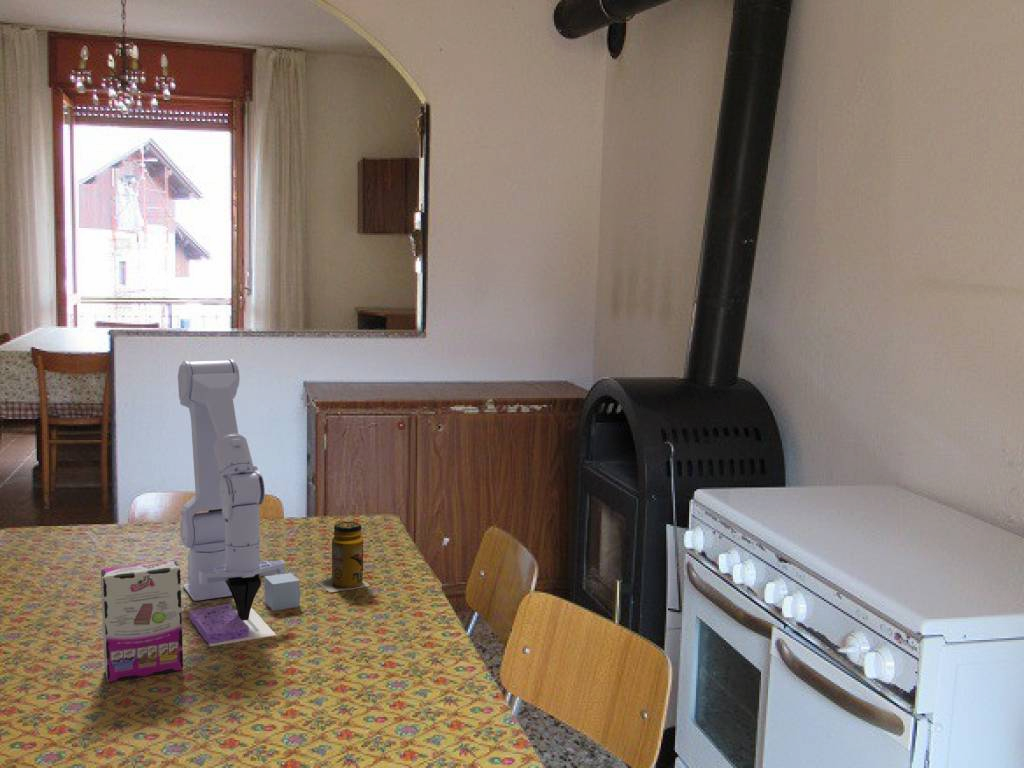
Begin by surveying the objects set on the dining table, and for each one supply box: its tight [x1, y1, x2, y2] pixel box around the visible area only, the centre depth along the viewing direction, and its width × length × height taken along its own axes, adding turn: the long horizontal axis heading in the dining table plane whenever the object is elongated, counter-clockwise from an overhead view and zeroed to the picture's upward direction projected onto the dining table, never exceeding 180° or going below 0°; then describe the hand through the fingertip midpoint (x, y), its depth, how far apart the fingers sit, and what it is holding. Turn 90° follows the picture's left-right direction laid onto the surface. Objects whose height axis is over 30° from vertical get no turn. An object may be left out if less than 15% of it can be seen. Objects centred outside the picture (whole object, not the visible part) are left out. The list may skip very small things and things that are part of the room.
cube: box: [263, 572, 301, 612], centre depth 190 cm, size 5×5×5 cm
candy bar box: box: [100, 559, 184, 683], centre depth 158 cm, size 11×5×16 cm, turn 117°
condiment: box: [315, 521, 371, 594], centre depth 201 cm, size 7×8×12 cm
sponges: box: [189, 603, 249, 643], centre depth 177 cm, size 7×13×2 cm, turn 30°
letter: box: [207, 607, 277, 647], centre depth 179 cm, size 15×11×1 cm
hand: (243, 618), depth 179 cm, fingers closed
